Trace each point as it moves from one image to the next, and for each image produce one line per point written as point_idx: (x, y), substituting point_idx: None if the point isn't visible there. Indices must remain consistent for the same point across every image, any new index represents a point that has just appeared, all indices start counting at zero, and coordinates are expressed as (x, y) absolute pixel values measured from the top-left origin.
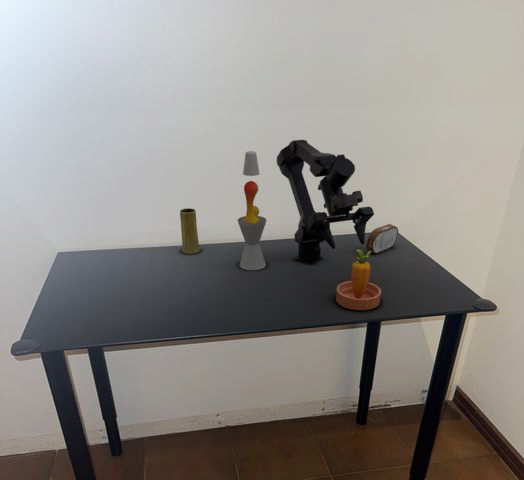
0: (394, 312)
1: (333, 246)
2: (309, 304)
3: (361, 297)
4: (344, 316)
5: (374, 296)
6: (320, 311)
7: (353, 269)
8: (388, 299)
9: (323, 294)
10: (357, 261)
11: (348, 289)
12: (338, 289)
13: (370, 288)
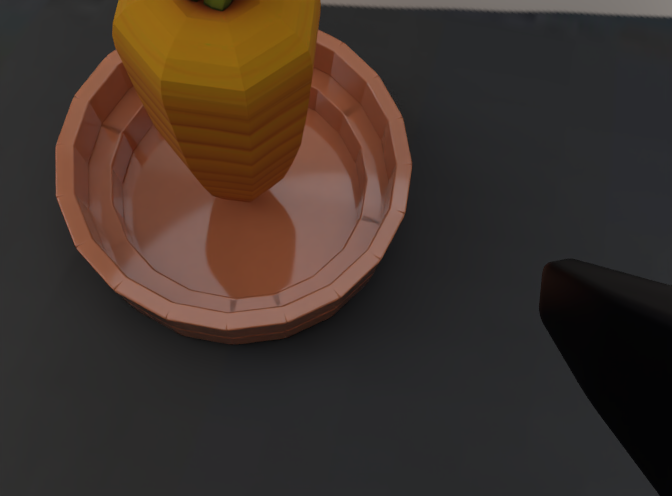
0: (73, 16)
1: (585, 268)
2: (570, 211)
3: (201, 223)
4: (389, 36)
5: (118, 168)
6: (515, 115)
7: (319, 16)
8: (14, 178)
9: (454, 339)
10: (256, 20)
11: (276, 294)
12: (395, 191)
13: (103, 247)
